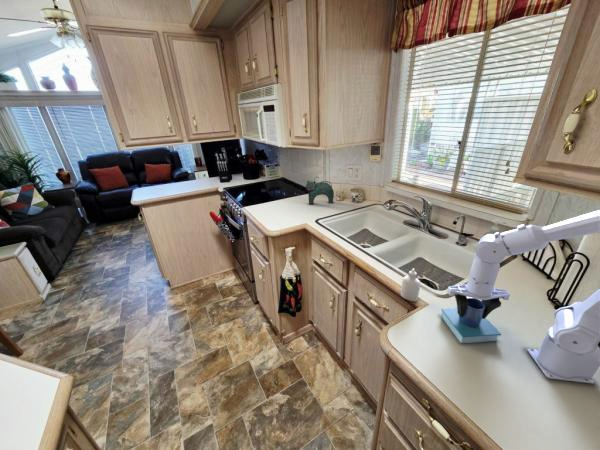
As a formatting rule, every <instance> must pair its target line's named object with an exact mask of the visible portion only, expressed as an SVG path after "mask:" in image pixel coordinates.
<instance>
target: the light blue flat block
mask: <svg viewBox="0 0 600 450" xmlns="http://www.w3.org/2000/svg"><path fill="white" fill-rule="evenodd" d="M441 318H442V319H443V321H444V322H445V323H446V325H447V326H448V328H449V329H450V331H451V332H452V333H453V335H454V336H455V337H456V338H457V340H458V342H459V343H460V344H469V343H471V344H472V343H483V342H484V343H485V342H496V341H497V340H498V338H499V336H502V333H501V332H500V331H499V330H498V329H497V328H496V326H494V324H492V323H491V322H490V320H488V318H487V317H486V318H485V319H482V320H481V323H480V325H479V326H478V327H469V326H466V325H465V324H463V323H462V322H461V321H460V320H459V314H458V313H457V307H450V308H449V307H448V308H441Z"/></svg>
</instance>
